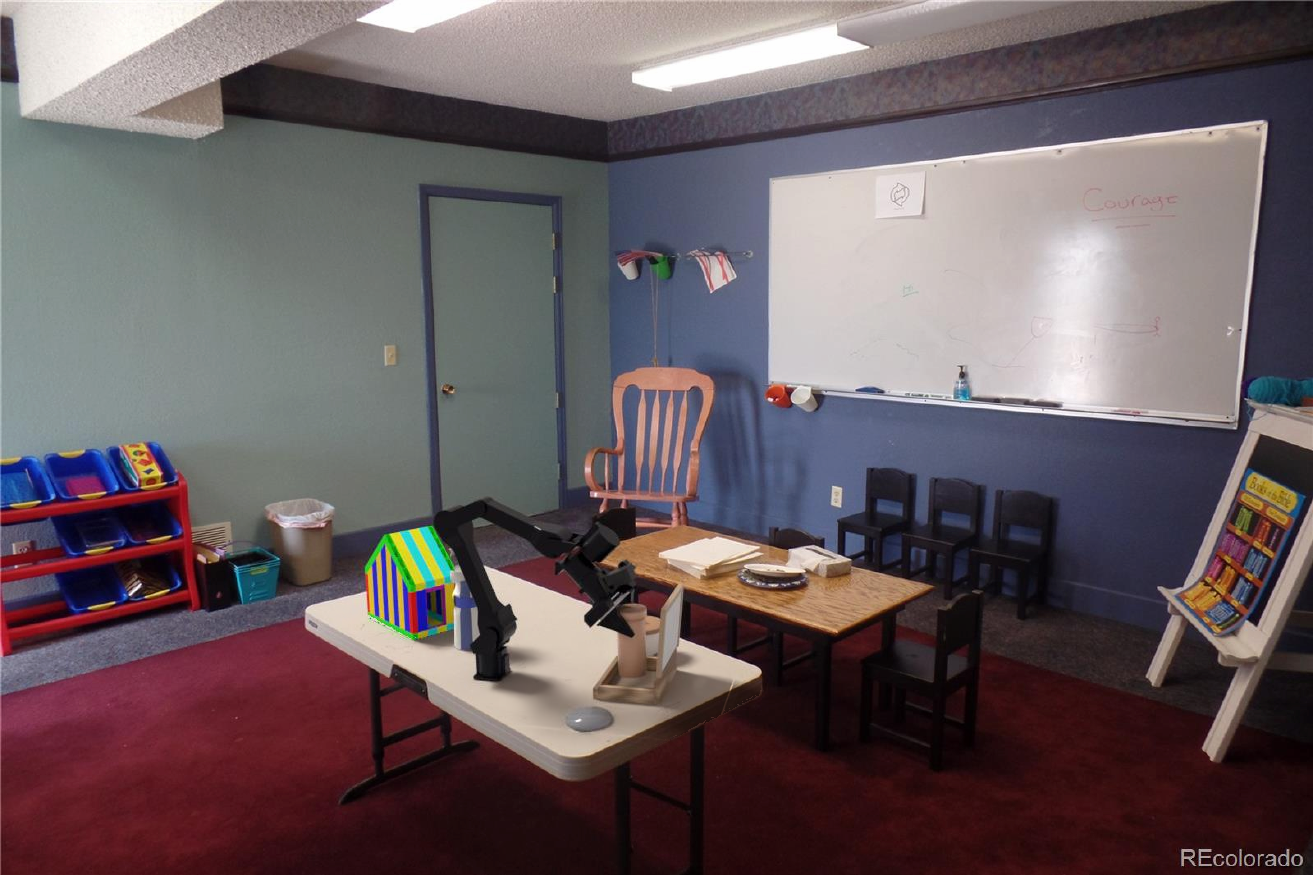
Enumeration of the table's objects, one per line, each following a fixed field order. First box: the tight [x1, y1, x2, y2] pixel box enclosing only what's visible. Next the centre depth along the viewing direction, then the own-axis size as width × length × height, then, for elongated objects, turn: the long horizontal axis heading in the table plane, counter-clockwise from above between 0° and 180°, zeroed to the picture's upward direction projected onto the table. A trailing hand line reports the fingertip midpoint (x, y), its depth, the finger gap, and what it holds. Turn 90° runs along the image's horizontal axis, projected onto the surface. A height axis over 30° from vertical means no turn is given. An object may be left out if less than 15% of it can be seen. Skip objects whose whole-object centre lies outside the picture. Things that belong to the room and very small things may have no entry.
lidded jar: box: [645, 615, 660, 657], centre depth 204 cm, size 11×11×9 cm
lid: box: [656, 582, 685, 678], centre depth 184 cm, size 2×18×14 cm, turn 167°
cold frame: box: [592, 647, 678, 705], centre depth 187 cm, size 14×18×6 cm
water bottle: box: [448, 547, 480, 651], centre depth 211 cm, size 8×9×25 cm
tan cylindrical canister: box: [616, 603, 648, 678], centre depth 183 cm, size 7×7×14 cm
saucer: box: [565, 705, 612, 733], centre depth 171 cm, size 9×9×1 cm
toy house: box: [364, 525, 456, 641], centre depth 227 cm, size 24×14×25 cm, turn 44°
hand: (638, 630), depth 182 cm, fingers closed on tan cylindrical canister, 6 cm apart
